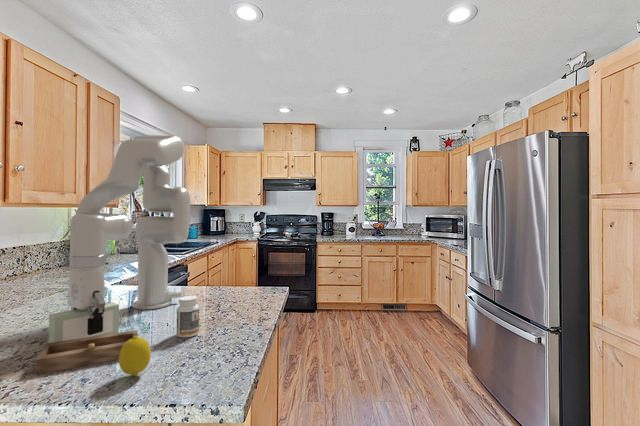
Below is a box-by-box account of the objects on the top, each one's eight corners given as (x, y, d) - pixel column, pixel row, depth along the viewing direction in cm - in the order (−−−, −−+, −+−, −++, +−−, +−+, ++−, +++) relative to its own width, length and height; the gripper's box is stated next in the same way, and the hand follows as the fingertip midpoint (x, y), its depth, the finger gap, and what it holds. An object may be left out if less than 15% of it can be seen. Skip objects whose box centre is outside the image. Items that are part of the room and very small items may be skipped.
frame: (111, 330, 90) (112, 302, 90) (118, 334, 88) (119, 304, 88) (48, 347, 79) (49, 314, 79) (54, 351, 76) (55, 317, 76)
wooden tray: (136, 341, 82) (137, 325, 83) (138, 355, 74) (138, 338, 74) (45, 356, 73) (45, 339, 73) (35, 374, 65) (36, 354, 65)
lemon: (127, 369, 68) (128, 331, 68) (154, 369, 68) (155, 331, 68) (112, 383, 62) (113, 341, 62) (142, 382, 63) (143, 341, 63)
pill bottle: (203, 332, 90) (203, 296, 90) (188, 339, 84) (189, 301, 85) (186, 329, 92) (187, 294, 92) (171, 336, 86) (171, 299, 86)
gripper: (57, 260, 85) (55, 326, 85) (85, 267, 75) (84, 341, 75) (90, 258, 91) (88, 319, 91) (120, 263, 81) (118, 332, 81)
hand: (86, 329), depth 83 cm, fingers open, 9 cm apart
